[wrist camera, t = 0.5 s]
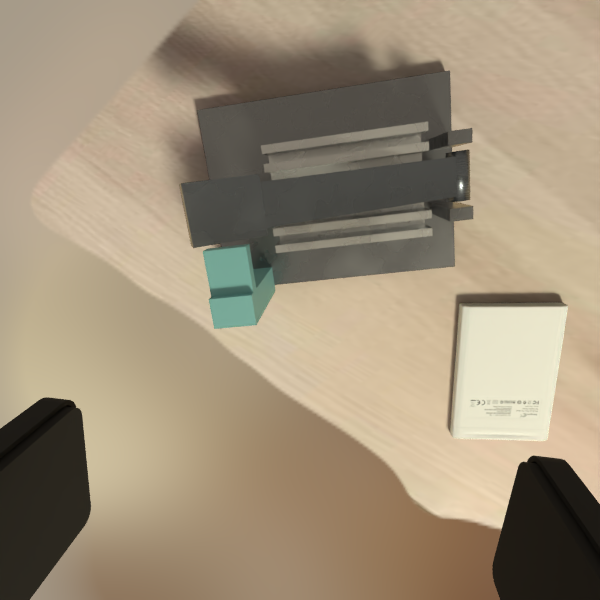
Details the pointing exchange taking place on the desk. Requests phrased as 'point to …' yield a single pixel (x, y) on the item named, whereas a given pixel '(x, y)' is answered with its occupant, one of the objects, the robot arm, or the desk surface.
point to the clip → (237, 286)
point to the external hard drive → (506, 370)
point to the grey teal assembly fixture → (342, 157)
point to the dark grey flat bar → (315, 196)
